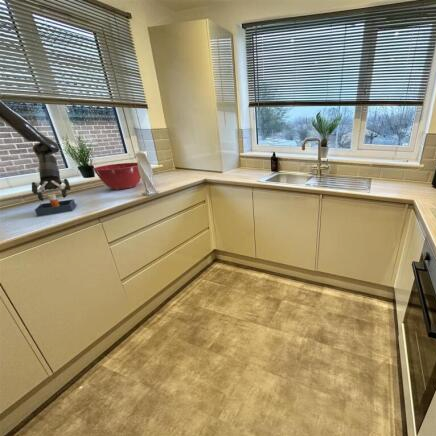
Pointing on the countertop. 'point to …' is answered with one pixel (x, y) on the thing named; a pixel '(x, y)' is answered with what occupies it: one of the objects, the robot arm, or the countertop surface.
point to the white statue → (146, 173)
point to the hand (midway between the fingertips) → (53, 198)
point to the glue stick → (53, 200)
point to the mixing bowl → (119, 175)
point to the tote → (55, 208)
